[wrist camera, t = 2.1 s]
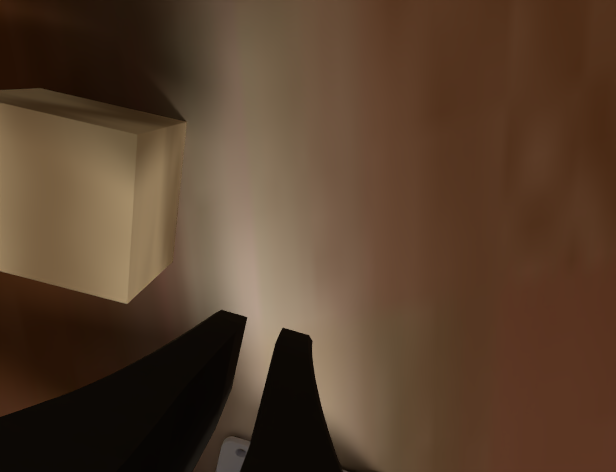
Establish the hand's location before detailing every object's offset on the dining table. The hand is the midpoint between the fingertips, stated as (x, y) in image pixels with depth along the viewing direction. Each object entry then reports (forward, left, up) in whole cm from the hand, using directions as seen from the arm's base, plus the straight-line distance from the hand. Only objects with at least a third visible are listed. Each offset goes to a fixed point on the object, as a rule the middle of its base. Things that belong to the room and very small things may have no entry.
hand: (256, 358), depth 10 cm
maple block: (+9, 0, -9) cm, 12 cm away
